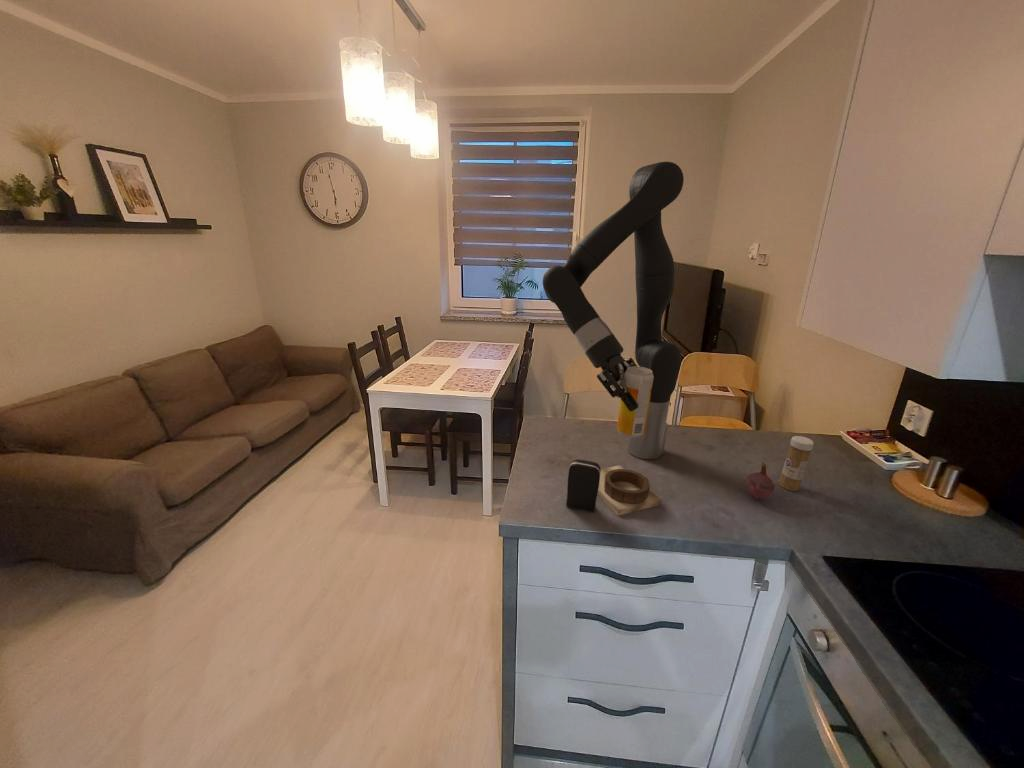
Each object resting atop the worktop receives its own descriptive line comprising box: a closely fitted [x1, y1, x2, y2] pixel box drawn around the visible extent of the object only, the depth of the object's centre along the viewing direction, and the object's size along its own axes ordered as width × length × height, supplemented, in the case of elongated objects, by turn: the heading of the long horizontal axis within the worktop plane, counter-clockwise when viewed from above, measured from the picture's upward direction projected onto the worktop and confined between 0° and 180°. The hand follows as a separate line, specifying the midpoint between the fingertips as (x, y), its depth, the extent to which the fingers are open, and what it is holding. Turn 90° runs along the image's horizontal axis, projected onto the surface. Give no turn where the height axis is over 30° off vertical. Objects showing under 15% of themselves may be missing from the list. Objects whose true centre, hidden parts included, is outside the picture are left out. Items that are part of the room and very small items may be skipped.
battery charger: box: [565, 458, 602, 513], centre depth 92 cm, size 7×4×11 cm, turn 71°
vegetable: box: [745, 461, 775, 500], centre depth 97 cm, size 6×6×10 cm
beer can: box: [616, 365, 654, 438], centre depth 90 cm, size 6×6×15 cm
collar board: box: [597, 464, 662, 516], centre depth 99 cm, size 12×16×4 cm
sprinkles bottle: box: [778, 435, 815, 492], centre depth 102 cm, size 5×5×14 cm
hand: (641, 404), depth 89 cm, fingers closed on beer can, 6 cm apart
